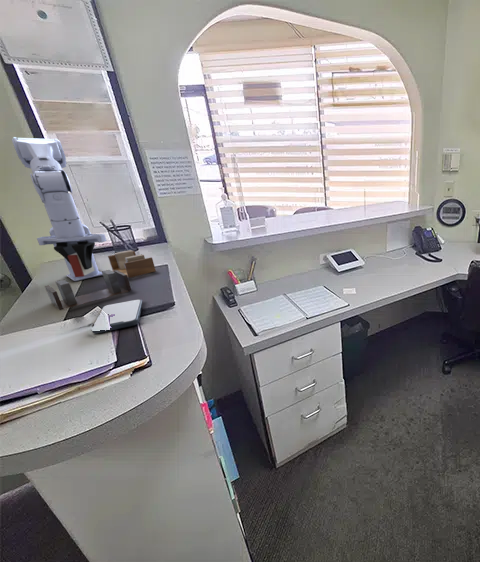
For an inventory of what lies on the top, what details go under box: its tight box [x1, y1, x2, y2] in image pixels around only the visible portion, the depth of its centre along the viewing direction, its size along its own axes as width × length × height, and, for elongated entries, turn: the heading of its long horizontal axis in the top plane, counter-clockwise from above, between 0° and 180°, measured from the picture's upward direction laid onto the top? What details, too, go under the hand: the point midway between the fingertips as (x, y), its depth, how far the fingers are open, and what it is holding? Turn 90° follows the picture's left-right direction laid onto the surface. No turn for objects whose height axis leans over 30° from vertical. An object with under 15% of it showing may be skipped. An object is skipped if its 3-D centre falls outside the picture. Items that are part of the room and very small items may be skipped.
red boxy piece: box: [68, 253, 95, 277], centre depth 85 cm, size 2×5×6 cm, turn 11°
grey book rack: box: [44, 269, 133, 311], centre depth 88 cm, size 16×8×7 cm, turn 145°
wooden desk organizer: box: [107, 249, 157, 279], centre depth 110 cm, size 16×8×7 cm, turn 55°
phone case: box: [91, 298, 143, 334], centre depth 78 cm, size 9×2×16 cm
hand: (83, 268), depth 86 cm, fingers closed on red boxy piece, 2 cm apart
